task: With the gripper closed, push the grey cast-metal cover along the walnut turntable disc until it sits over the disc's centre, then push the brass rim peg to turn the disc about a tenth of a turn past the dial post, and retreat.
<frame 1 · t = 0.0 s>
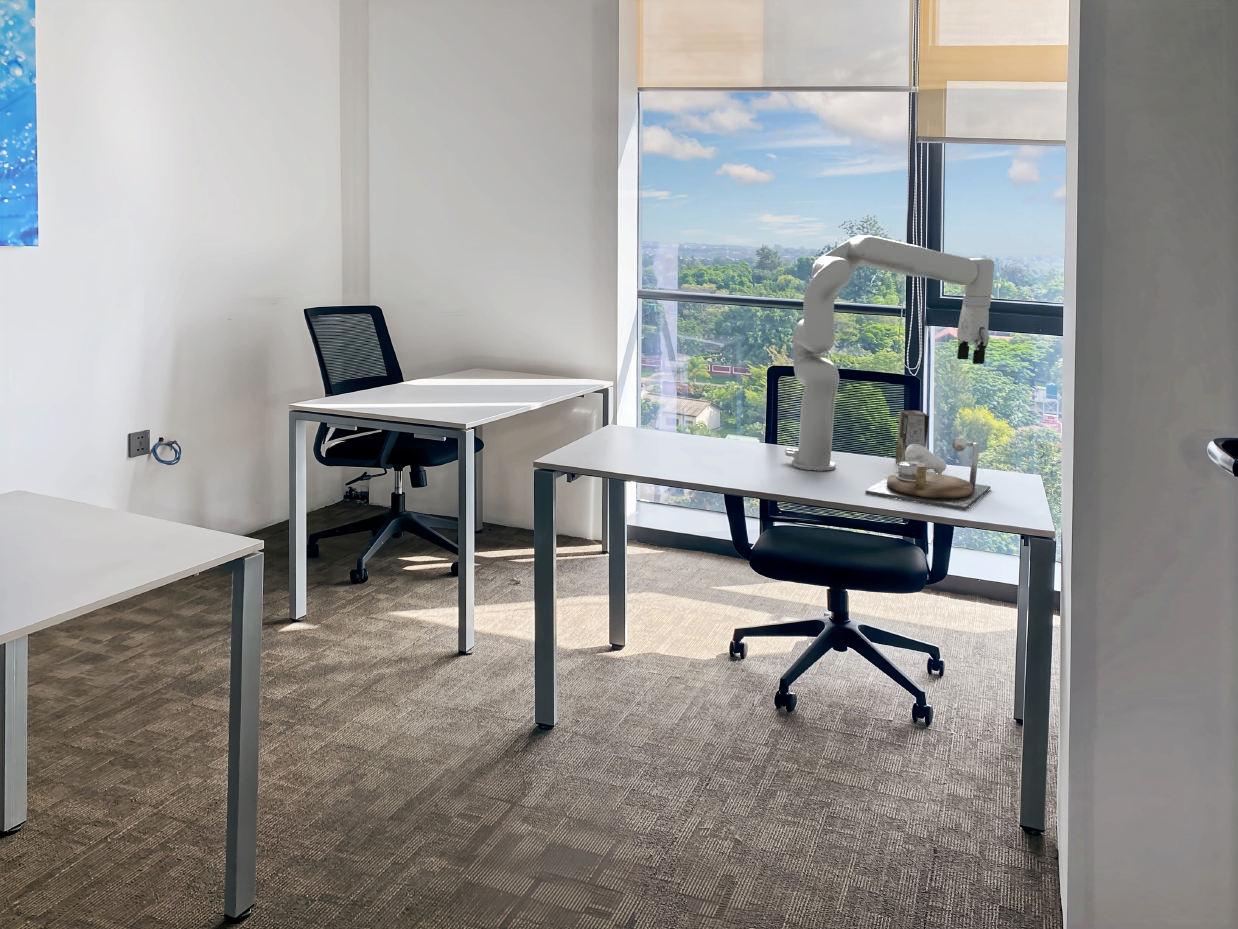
hand: (970, 361, 303), 31 cm above the table, tool pointing down, fingers open, 9 cm apart
turntable: (930, 473, 278), point 5 cm above the table, hinge at 0.0°, touching cover
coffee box: (909, 466, 308), on the table
cover: (911, 478, 281), point 3 cm above the table, touching turntable
white rounded lump: (924, 474, 299), on the table
turntable base: (928, 491, 279), on the table
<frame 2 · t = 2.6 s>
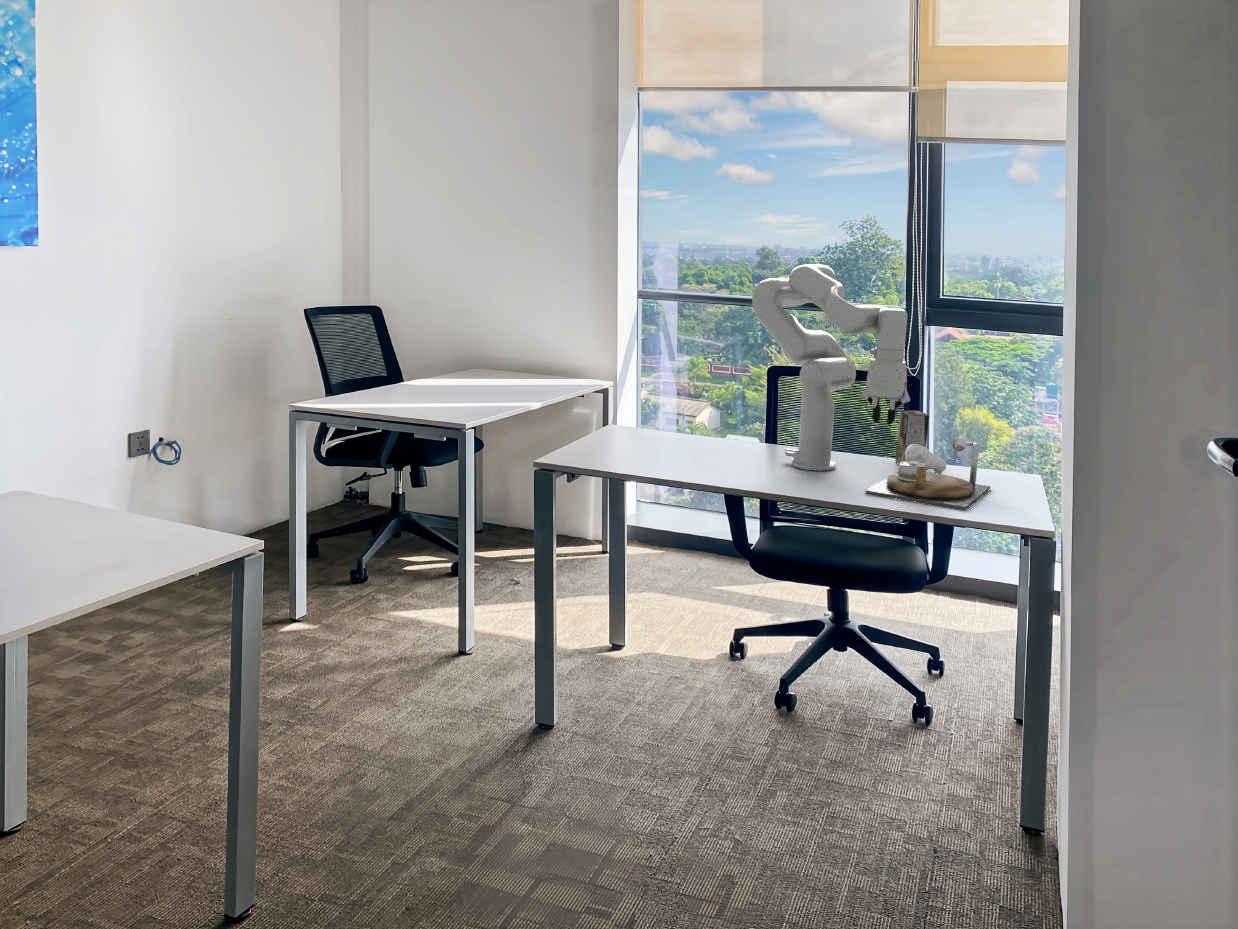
hand: (883, 422, 282), 17 cm above the table, tool pointing down, fingers open, 3 cm apart
nothing on the table moved.
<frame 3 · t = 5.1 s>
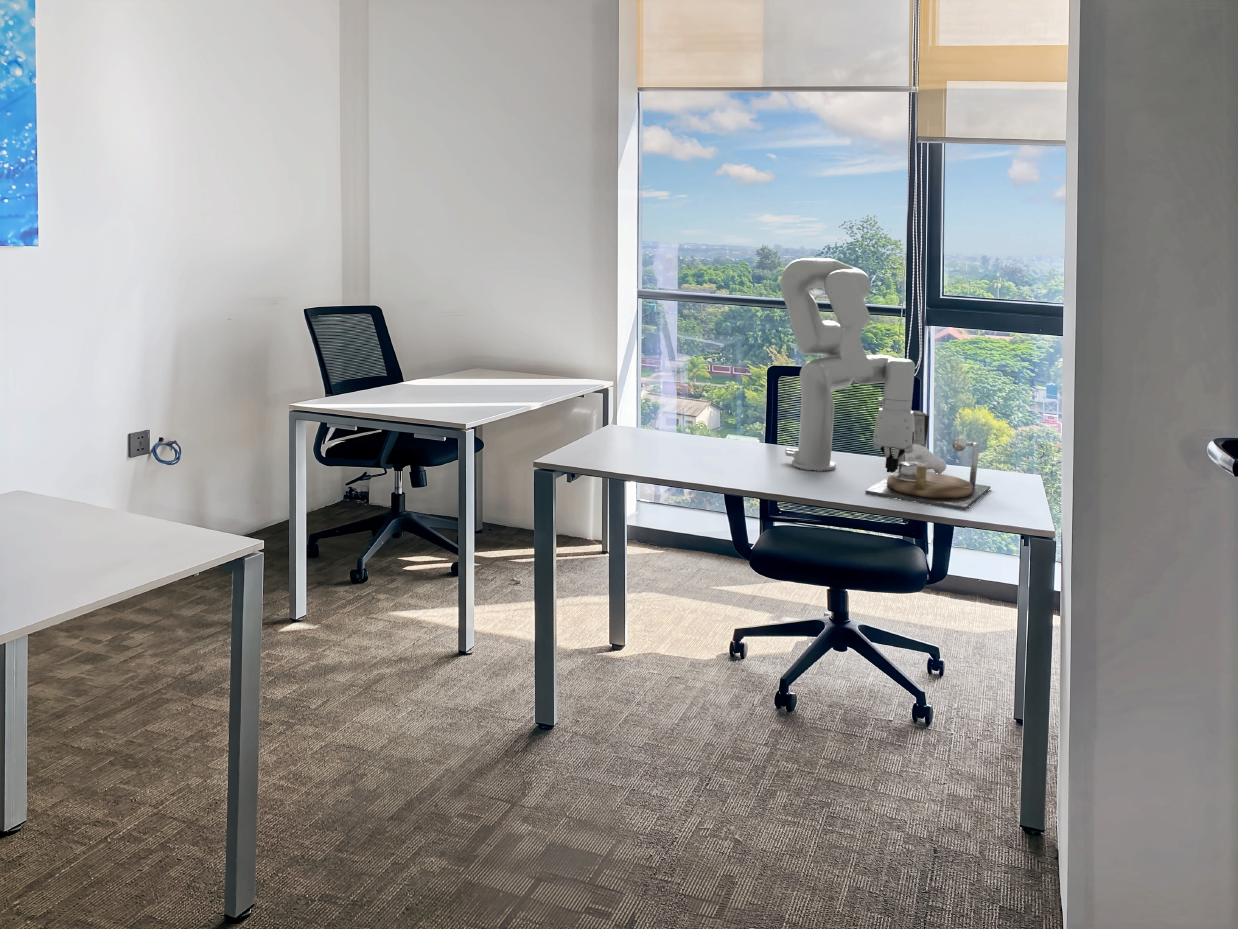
hand: (891, 471, 283), 4 cm above the table, tool pointing down, fingers closed
cover: (911, 478, 281), point 3 cm above the table, touching gripper, turntable
everything else where it was.
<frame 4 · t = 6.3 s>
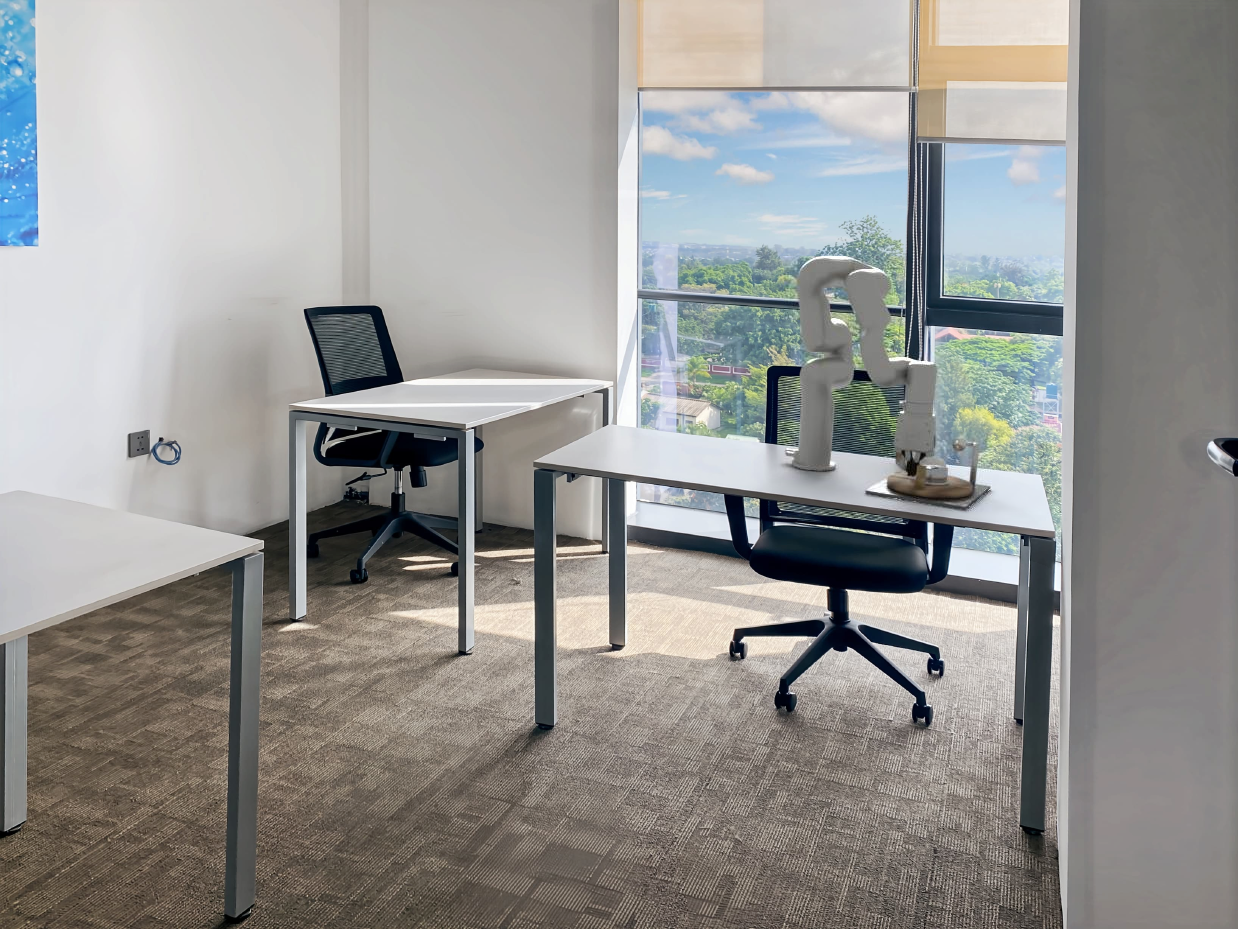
hand: (911, 475, 281), 4 cm above the table, tool pointing down, fingers closed
cover: (932, 482, 278), point 3 cm above the table, touching gripper, turntable
everything else where it was.
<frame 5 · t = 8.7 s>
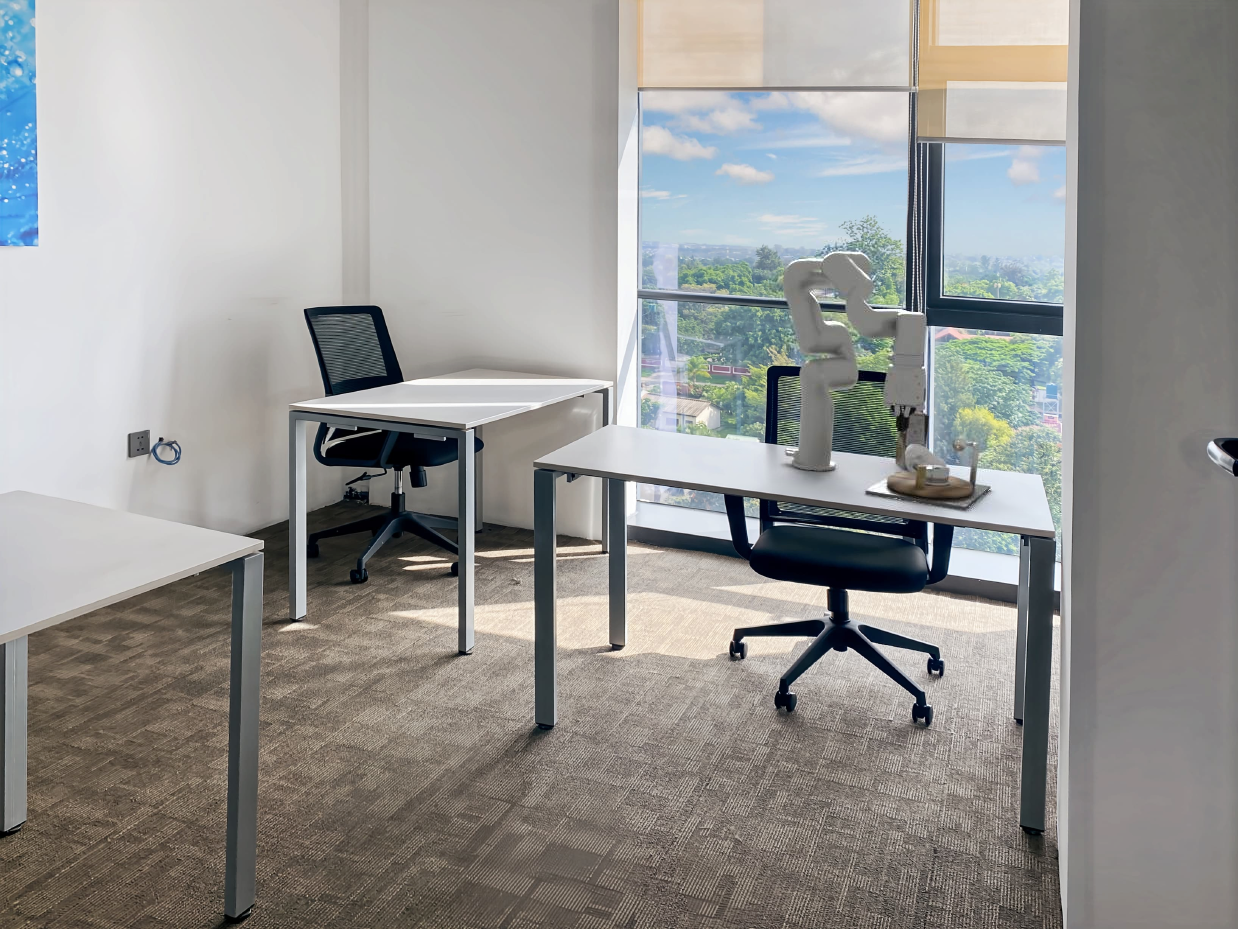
hand: (901, 430, 271), 17 cm above the table, tool pointing down, fingers closed
cover: (934, 482, 278), point 3 cm above the table, touching turntable
everything else where it was.
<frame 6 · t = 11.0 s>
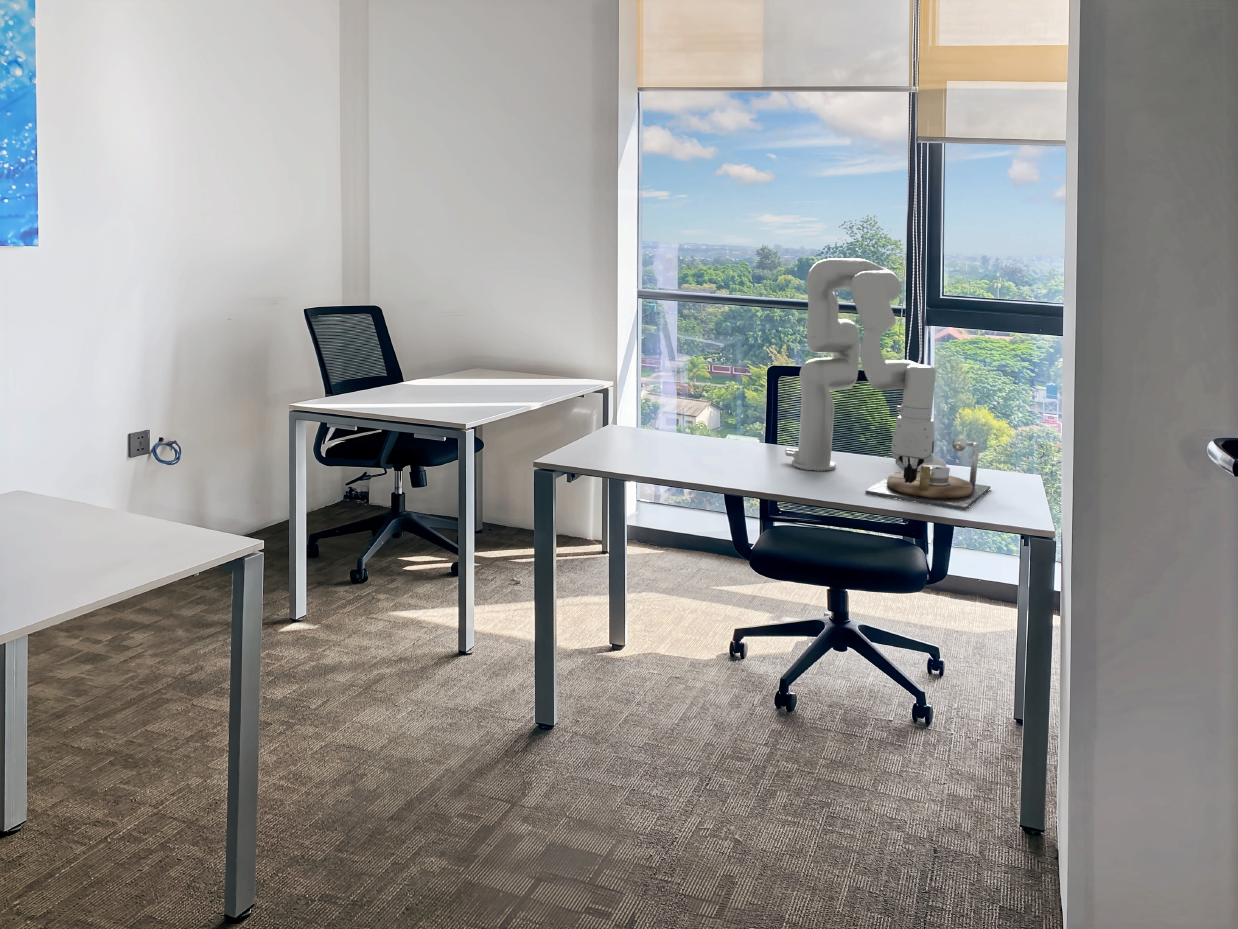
hand: (909, 481, 273), 4 cm above the table, tool pointing down, fingers closed
turntable: (930, 473, 278), point 5 cm above the table, hinge at 6.7°, touching cover, gripper
everything else where it was.
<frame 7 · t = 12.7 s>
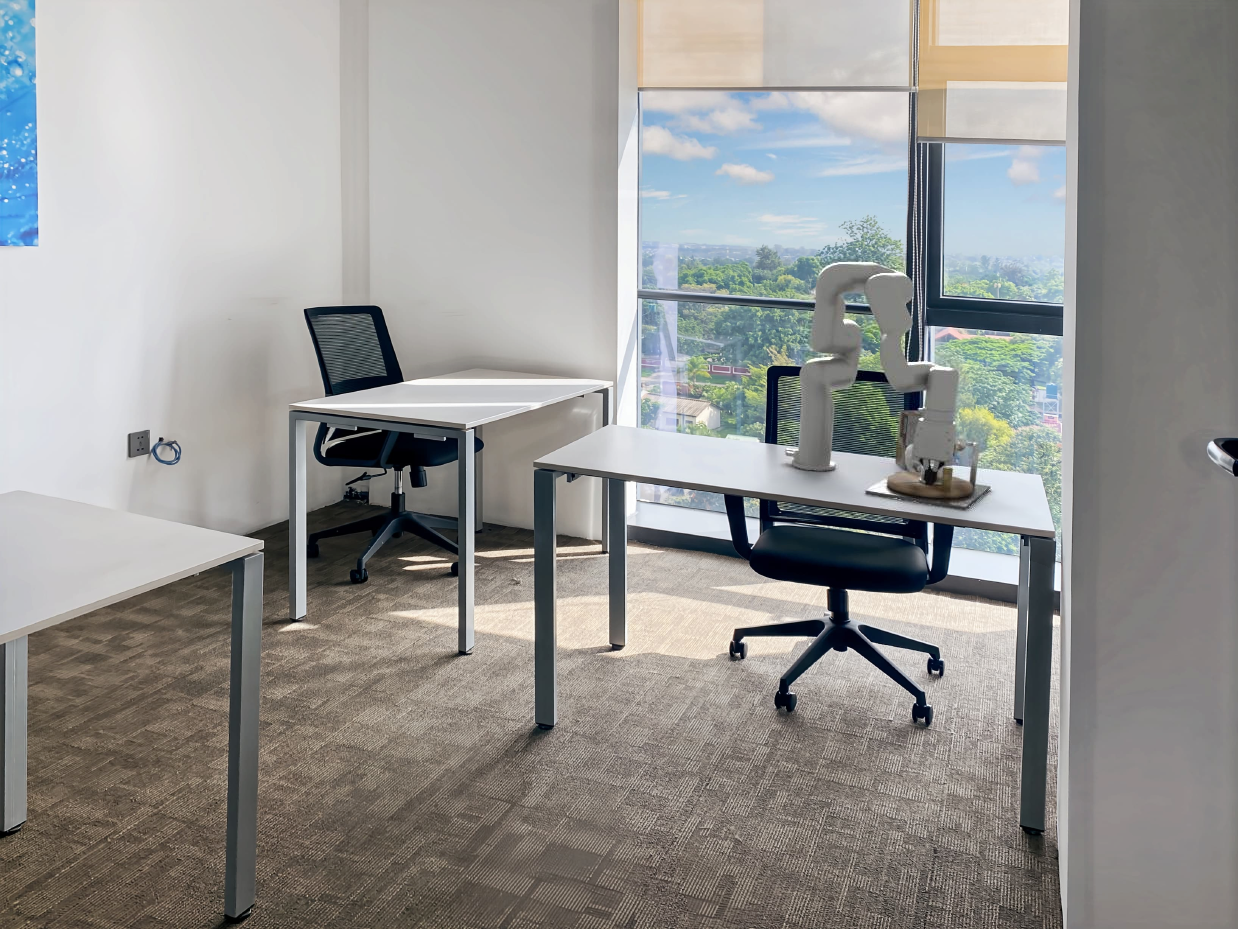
hand: (929, 484, 271), 4 cm above the table, tool pointing down, fingers closed
turntable: (930, 473, 278), point 5 cm above the table, hinge at 42.5°, touching cover, gripper
everything else where it was.
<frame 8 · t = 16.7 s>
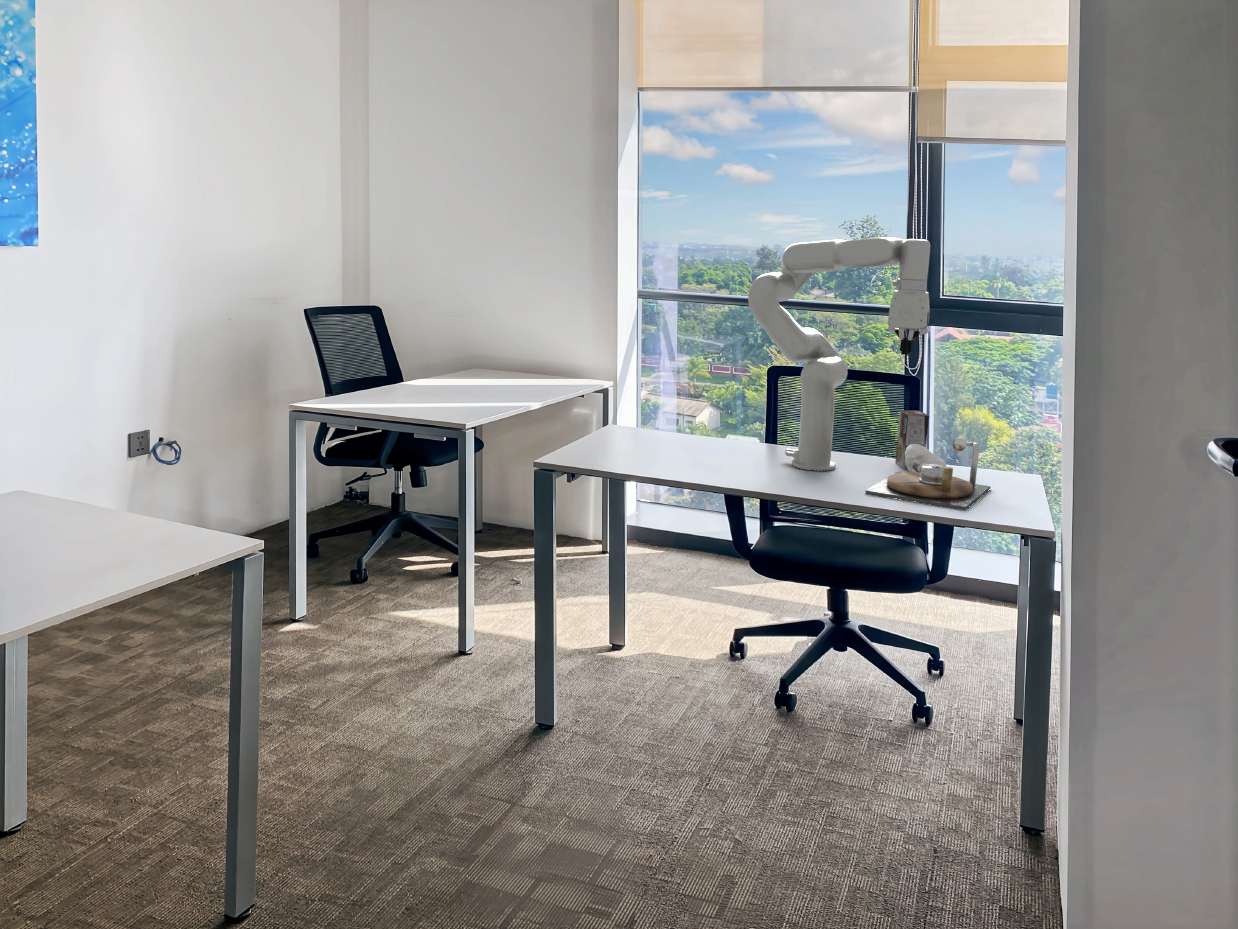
hand: (905, 354, 284), 35 cm above the table, tool pointing down, fingers closed
turntable: (930, 473, 278), point 5 cm above the table, hinge at 42.6°, touching cover
everything else where it was.
at the end: cover 1.2 cm from the turntable (horizontally); turntable at +43° (first picture: +0°); cover tilted 0° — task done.
